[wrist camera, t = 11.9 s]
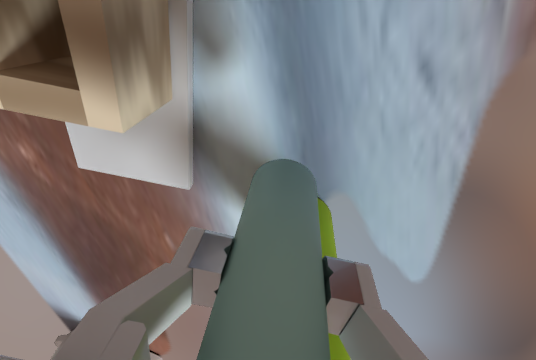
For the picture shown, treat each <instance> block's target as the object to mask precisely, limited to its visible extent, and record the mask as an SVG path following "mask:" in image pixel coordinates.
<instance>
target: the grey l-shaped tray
mask: <svg viewBox="0 0 536 360" xmlns="http://www.w3.org/2000/svg"><path fill="white" fill-rule="evenodd" d="M168 13H169V35H170V56H171V78H172V100H170V101H169V102H168V103H166V104H165V105H163V106H162V107H160V108H159V109H157V110H156V111H155V112H153V113H152V114H150V115H149V116H147V117H146V118H144V119H143V120H142V121H140V122H139V123H137V124H136V125H134V126H133V127H131V128H130V129H129V130H127V131H126V132H124V133H119V132H114V131H109V130H104V129H99V128H94V127H89V126H84V125H79V124H74V123H69V122H65V124H66V127H67V131H68V134H69V137H70V141H71V144H72V147H73V151H74V154H75V158H76V161H77V164H78V168H83V169H88V170H93V171H98V172H103V173H108V174H113V175H118V176H123V177H128V178H133V179H138V180H143V181H148V182H153V183H158V184H163V185H168V186H173V187H178V188H183V189H188V190H189V189H190V188H191V186H192V184H193V0H168Z"/></svg>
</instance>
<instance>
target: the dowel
mask: <svg viewBox="0 0 536 360" xmlns="http://www.w3.org/2000/svg"><path fill="white" fill-rule="evenodd" d="M197 360H330V347H329V335H328V323H327V310H326V298H325V285H324V273H323V261H322V248H321V236H320V223H319V211H318V199H317V186H316V181H315V178H314V176H313V174H312V173H311V172H310V170H309V169H308V168H306V167H305V166H304V165H302V164H300V163H298V162H296V161H293V160H288V159H278V160H273V161H270V162H267V163H265V164H264V165H262V166H261V167H260V168H259V169H258V170H257V171H256V173H255V174H254V176H253V179H252V182H251V186H250V189H249V192H248V195H247V198H246V202H245V205H244V208H243V211H242V215H241V218H240V221H239V224H238V228H237V231H236V234H235V237H234V240H233V244H232V248H231V251H230V254H229V257H228V260H227V263H226V267H225V270H224V273H223V277H222V280H221V283H220V286H219V289H218V292H217V295H216V298H215V302H214V305H213V308H212V311H211V315H210V318H209V321H208V325H207V327H206V331H205V334H204V337H203V341H202V344H201V347H200V350H199V353H198V356H197Z"/></svg>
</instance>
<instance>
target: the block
mask: <svg viewBox="0 0 536 360" xmlns="http://www.w3.org/2000/svg"><path fill="white" fill-rule="evenodd" d="M170 100H172V78H171V56H170V35H169V13H168V0H0V109H4V110H9V111H14V112H19V113H24V114H29V115H34V116H39V117H44V118H49V119H54V120H59V121H64V122H69V123H74V124H79V125H84V126H89V127H94V128H99V129H104V130H109V131H114V132H119V133H124V132H126V131H127V130H129V129H130V128H131V127H133V126H134V125H136V124H137V123H139V122H140V121H142V120H143V119H144V118H146V117H147V116H149V115H150V114H152V113H153V112H155V111H156V110H157V109H159V108H160V107H162V106H163V105H165V104H166V103H168V102H169V101H170Z"/></svg>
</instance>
